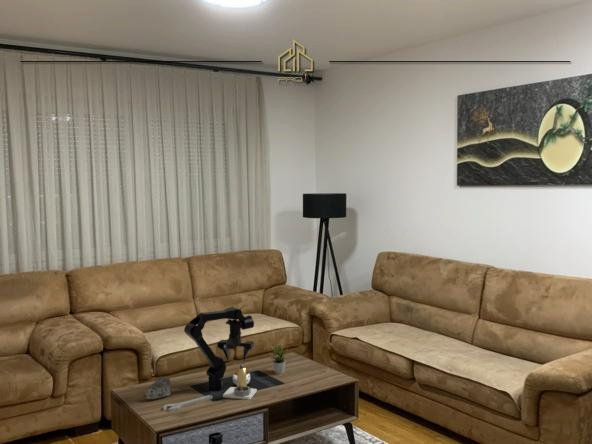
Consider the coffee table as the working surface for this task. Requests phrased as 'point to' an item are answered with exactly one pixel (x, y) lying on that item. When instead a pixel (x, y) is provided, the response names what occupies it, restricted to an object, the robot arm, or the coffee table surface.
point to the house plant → (278, 359)
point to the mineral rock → (159, 388)
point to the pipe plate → (239, 393)
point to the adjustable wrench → (185, 403)
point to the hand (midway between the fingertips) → (236, 360)
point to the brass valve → (241, 378)
